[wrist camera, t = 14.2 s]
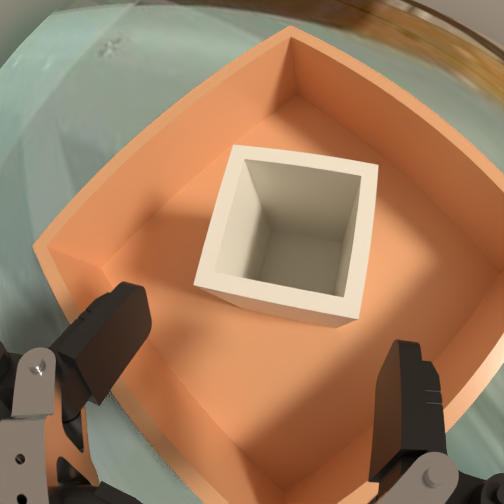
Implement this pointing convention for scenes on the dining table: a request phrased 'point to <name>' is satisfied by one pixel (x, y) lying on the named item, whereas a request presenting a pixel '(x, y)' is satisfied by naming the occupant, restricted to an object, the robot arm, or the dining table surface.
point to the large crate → (276, 328)
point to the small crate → (291, 235)
